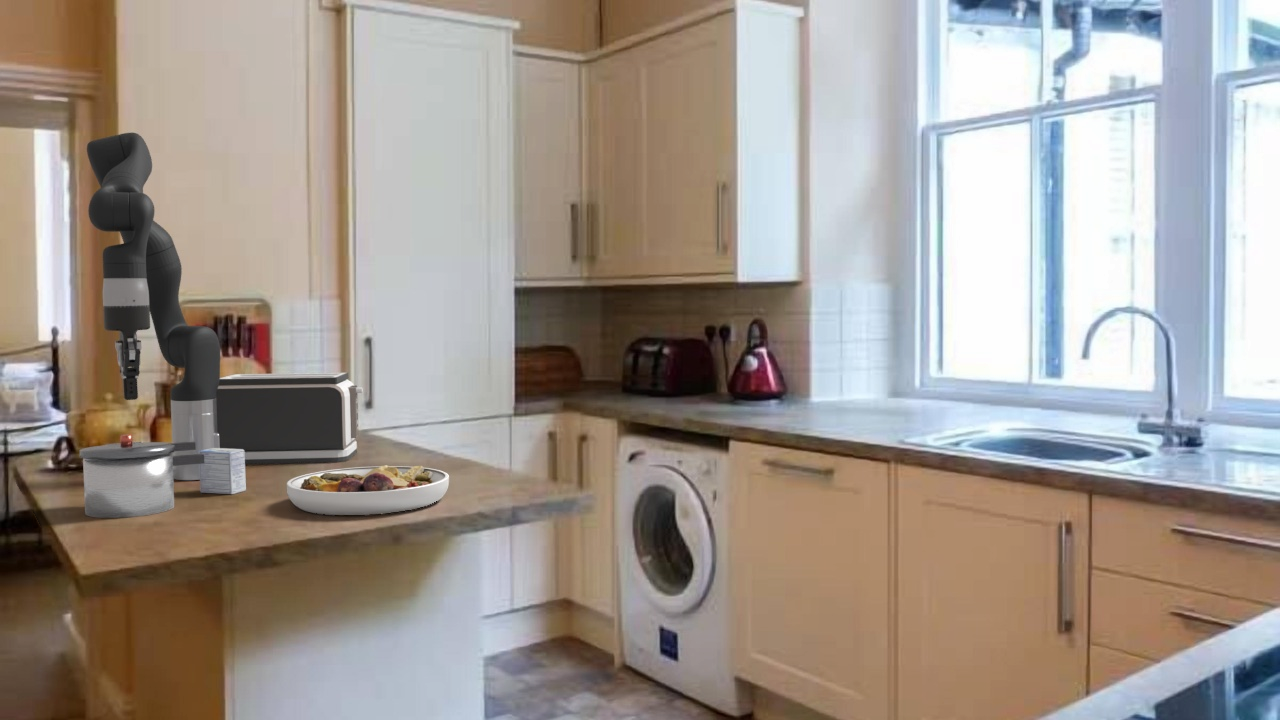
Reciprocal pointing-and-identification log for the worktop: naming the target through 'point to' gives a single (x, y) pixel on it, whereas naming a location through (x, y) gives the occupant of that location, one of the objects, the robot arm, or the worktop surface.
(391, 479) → the bowl
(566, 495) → the worktop surface
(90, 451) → the lid
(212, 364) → the robot arm
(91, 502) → the cooker pot
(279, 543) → the worktop surface
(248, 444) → the toaster
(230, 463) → the medicine box
